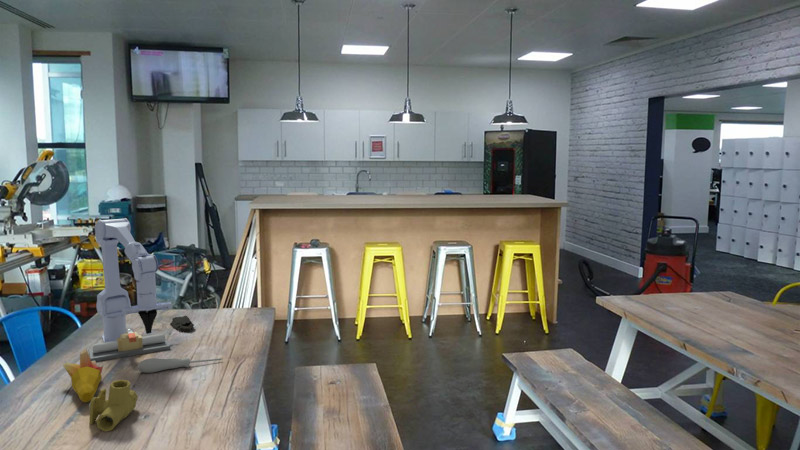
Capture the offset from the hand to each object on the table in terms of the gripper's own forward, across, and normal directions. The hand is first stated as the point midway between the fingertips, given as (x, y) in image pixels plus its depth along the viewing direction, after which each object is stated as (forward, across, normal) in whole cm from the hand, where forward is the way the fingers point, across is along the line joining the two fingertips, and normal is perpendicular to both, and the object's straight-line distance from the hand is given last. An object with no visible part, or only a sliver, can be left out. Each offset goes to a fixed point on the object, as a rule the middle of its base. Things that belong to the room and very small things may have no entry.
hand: (148, 332), depth 181 cm
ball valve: (+8, -15, -43) cm, 47 cm away
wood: (+8, +16, +30) cm, 35 cm away
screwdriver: (+8, +7, -16) cm, 19 cm away
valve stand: (+8, -5, +8) cm, 12 cm away
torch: (+8, -20, -21) cm, 30 cm away
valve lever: (+1, -5, +3) cm, 6 cm away
